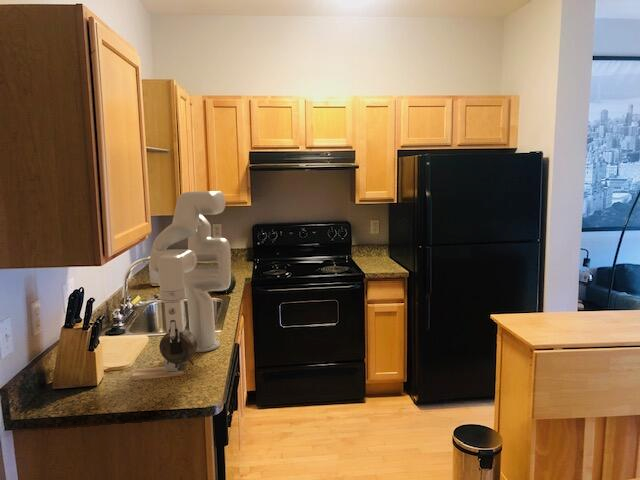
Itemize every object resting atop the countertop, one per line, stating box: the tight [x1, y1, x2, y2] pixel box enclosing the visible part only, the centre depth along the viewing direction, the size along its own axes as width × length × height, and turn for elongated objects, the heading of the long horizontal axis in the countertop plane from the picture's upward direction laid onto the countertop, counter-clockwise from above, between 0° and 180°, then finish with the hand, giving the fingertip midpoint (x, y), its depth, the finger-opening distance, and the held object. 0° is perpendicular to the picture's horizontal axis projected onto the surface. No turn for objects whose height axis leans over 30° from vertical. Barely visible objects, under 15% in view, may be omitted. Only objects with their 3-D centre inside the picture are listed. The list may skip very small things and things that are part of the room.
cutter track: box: [131, 362, 187, 381], centre depth 155 cm, size 5×17×4 cm, turn 100°
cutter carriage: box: [164, 358, 180, 372], centre depth 156 cm, size 5×5×4 cm
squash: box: [212, 272, 237, 293], centre depth 262 cm, size 14×15×15 cm
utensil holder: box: [147, 256, 159, 284], centre depth 284 cm, size 15×15×18 cm
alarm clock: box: [158, 328, 197, 369], centre depth 145 cm, size 11×5×16 cm, turn 83°
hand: (177, 349), depth 146 cm, fingers closed on alarm clock, 6 cm apart
